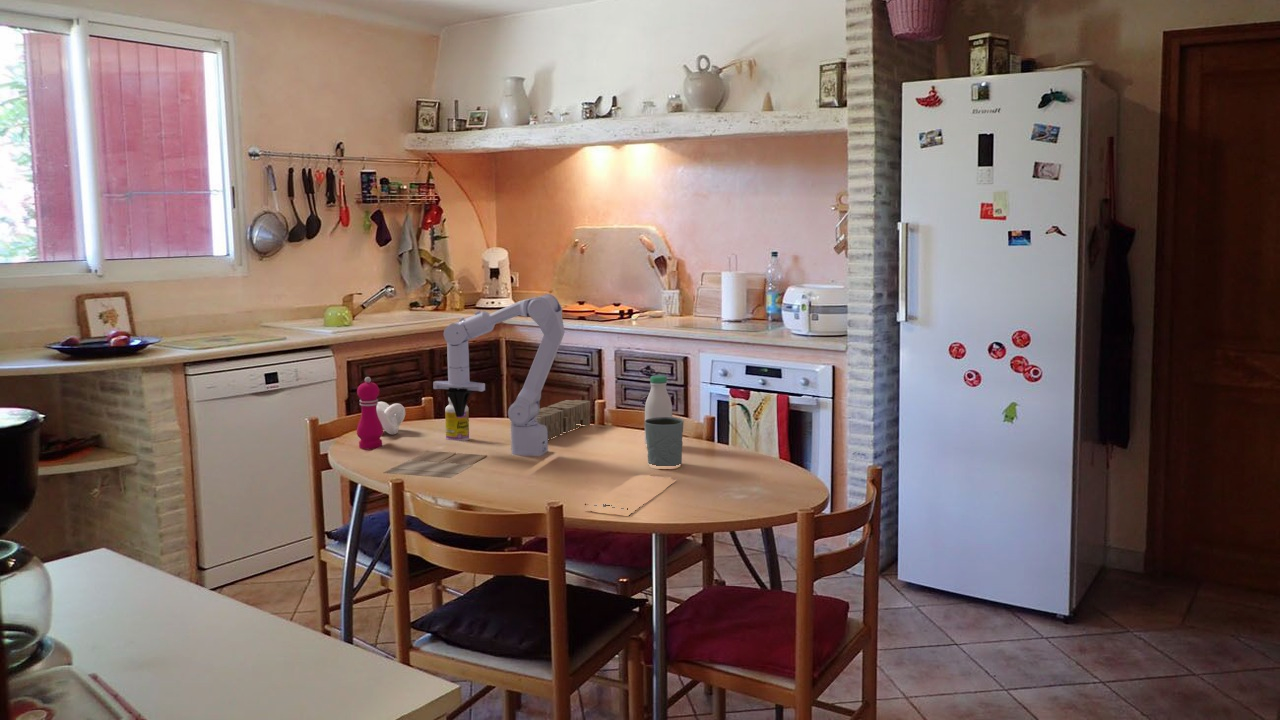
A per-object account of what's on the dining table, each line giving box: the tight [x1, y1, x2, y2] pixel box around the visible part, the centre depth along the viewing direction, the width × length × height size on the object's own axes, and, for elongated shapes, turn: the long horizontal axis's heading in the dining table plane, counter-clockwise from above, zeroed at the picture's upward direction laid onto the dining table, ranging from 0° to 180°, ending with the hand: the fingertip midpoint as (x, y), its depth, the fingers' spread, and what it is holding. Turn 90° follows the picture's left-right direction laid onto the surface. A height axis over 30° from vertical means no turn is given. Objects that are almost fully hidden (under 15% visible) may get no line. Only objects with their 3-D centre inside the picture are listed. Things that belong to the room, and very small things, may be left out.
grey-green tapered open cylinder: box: [644, 416, 684, 466], centre depth 267 cm, size 10×10×12 cm
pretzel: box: [376, 401, 406, 436], centre depth 307 cm, size 11×12×9 cm
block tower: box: [536, 399, 591, 440], centre depth 307 cm, size 8×8×29 cm
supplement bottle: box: [444, 396, 470, 442], centre depth 296 cm, size 7×7×13 cm
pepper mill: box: [356, 376, 384, 450], centre depth 288 cm, size 7×7×20 cm
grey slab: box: [383, 459, 474, 479], centre depth 262 cm, size 18×13×1 cm
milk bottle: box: [644, 374, 673, 445], centre depth 287 cm, size 8×8×20 cm
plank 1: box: [411, 450, 457, 463], centre depth 274 cm, size 8×9×1 cm
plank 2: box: [441, 452, 488, 465], centre depth 271 cm, size 8×9×1 cm
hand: (460, 416), depth 280 cm, fingers closed
